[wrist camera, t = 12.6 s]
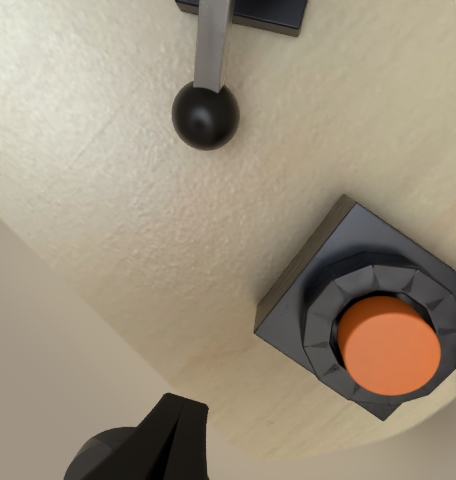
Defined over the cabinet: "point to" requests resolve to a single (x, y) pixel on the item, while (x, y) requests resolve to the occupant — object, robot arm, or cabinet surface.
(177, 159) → the cabinet surface
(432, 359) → the button
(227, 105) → the lever
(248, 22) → the bracket
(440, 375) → the button housing
